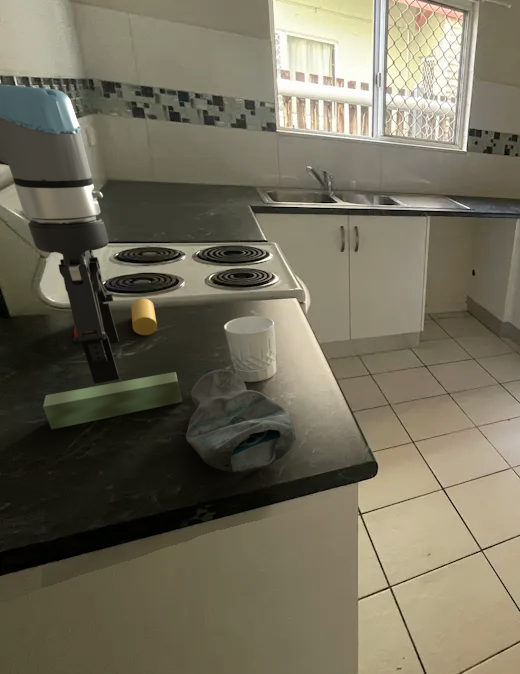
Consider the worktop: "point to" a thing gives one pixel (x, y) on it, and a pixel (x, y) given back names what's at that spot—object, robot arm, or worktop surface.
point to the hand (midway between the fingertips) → (107, 360)
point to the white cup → (252, 347)
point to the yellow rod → (143, 317)
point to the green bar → (111, 400)
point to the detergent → (237, 424)
